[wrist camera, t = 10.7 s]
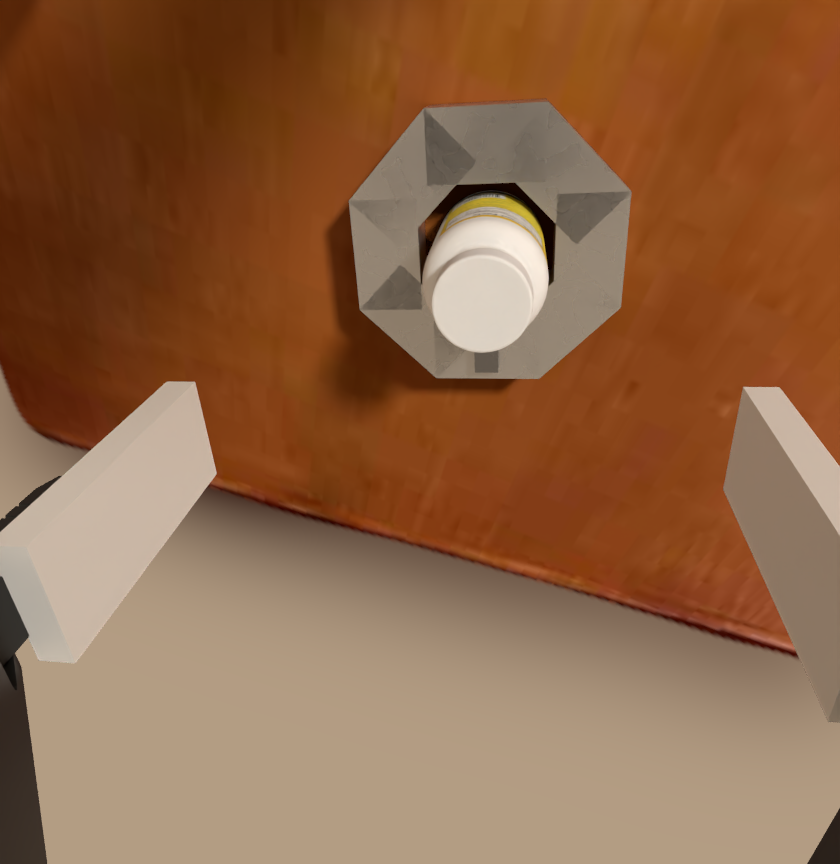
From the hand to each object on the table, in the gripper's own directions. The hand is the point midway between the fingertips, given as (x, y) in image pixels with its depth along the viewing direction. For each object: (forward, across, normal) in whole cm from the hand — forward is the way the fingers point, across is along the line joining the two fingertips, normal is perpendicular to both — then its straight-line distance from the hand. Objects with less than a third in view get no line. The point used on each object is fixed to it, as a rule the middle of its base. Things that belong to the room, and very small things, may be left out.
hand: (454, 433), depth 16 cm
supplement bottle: (+21, 0, 0) cm, 21 cm away
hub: (+21, 0, 0) cm, 21 cm away
